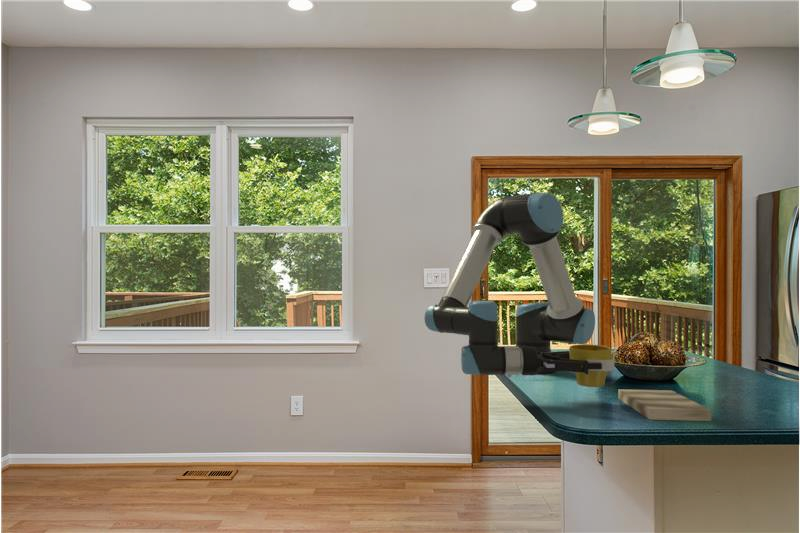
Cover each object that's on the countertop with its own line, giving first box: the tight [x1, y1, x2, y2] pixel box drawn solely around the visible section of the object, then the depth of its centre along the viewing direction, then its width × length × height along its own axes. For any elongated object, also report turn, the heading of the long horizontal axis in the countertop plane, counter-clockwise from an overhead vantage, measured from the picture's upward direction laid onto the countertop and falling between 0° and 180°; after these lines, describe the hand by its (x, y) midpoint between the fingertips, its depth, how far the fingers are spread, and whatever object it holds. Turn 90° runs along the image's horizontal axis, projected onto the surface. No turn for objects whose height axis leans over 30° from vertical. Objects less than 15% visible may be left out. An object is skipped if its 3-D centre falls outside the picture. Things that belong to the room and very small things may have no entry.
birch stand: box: [617, 388, 712, 422], centre depth 133 cm, size 20×14×2 cm
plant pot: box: [568, 343, 612, 388], centre depth 138 cm, size 10×10×10 cm
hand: (606, 361), depth 138 cm, fingers closed on plant pot, 10 cm apart
